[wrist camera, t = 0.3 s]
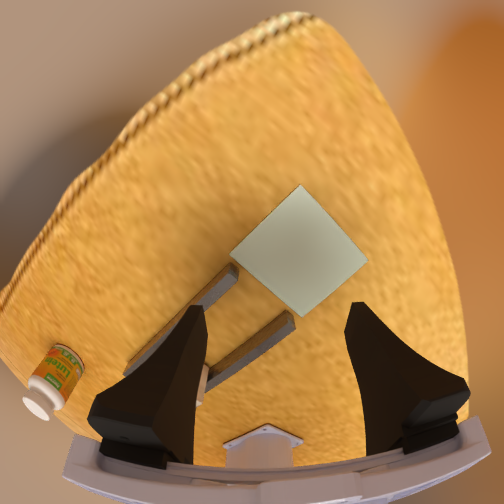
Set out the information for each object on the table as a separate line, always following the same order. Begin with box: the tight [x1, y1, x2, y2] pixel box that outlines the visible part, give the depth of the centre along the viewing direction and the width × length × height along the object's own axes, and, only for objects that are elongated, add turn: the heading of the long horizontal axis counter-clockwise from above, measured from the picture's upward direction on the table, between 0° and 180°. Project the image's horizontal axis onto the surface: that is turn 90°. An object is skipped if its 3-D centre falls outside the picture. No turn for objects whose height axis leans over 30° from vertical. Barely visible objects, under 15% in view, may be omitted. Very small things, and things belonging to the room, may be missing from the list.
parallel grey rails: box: [123, 262, 296, 393], centre depth 26 cm, size 18×8×2 cm, turn 136°
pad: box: [229, 185, 368, 317], centre depth 23 cm, size 8×9×1 cm
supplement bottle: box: [23, 345, 84, 421], centre depth 25 cm, size 5×5×10 cm
